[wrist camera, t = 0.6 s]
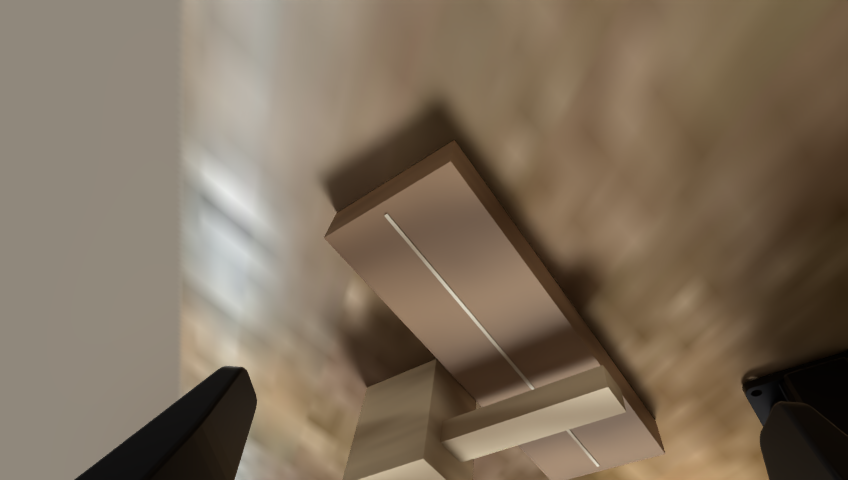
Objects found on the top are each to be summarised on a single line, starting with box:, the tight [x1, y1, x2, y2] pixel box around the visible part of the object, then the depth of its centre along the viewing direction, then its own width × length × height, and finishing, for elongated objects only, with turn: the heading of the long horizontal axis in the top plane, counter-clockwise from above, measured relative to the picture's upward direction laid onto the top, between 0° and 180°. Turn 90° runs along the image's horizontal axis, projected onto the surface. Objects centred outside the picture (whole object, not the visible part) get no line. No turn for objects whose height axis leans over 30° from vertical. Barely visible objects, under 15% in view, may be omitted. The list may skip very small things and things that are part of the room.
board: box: [324, 140, 665, 480], centre depth 25 cm, size 20×6×2 cm, turn 36°
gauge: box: [343, 359, 626, 480], centre depth 25 cm, size 4×14×6 cm, turn 126°
